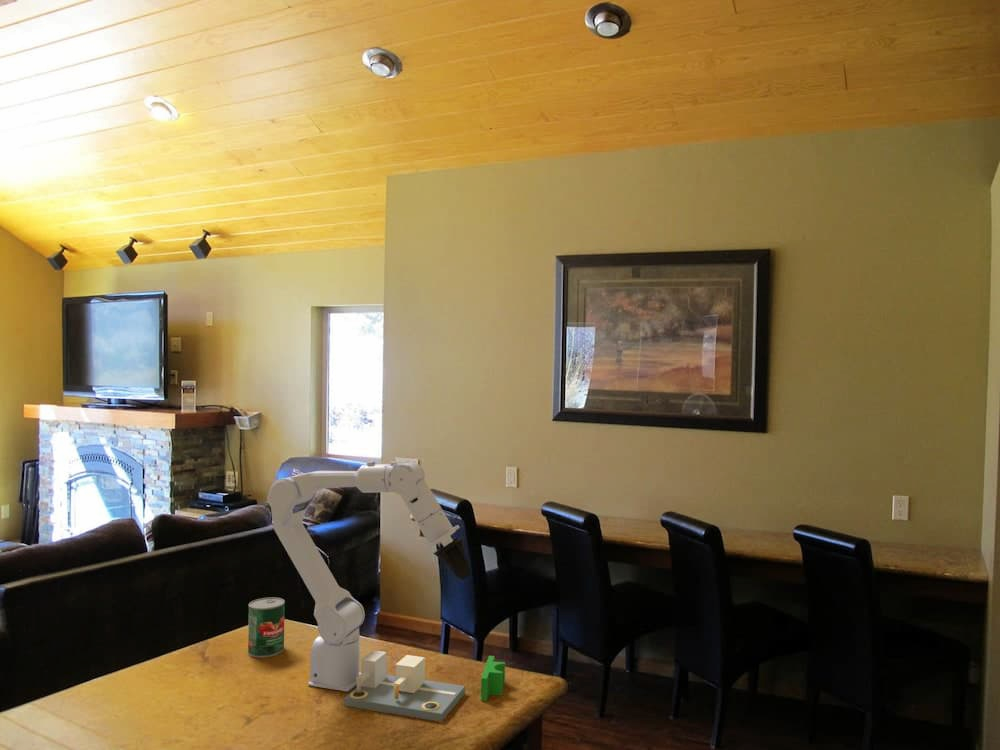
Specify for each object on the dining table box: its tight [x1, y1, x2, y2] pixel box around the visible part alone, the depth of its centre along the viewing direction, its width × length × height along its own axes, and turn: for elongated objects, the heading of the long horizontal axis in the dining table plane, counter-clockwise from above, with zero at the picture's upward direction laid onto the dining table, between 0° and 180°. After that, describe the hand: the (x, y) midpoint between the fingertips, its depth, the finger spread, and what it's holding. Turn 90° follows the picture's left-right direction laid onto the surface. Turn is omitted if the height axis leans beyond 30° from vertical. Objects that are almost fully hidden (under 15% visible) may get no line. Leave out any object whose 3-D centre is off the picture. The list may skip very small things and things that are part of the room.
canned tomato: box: [247, 596, 286, 659], centre depth 156 cm, size 8×8×11 cm
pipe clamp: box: [480, 655, 506, 702], centre depth 137 cm, size 11×4×5 cm, turn 173°
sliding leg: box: [394, 654, 426, 699], centre depth 132 cm, size 4×9×5 cm, turn 162°
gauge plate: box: [343, 649, 466, 723], centre depth 132 cm, size 20×12×7 cm, turn 72°
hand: (464, 576), depth 134 cm, fingers open, 7 cm apart
